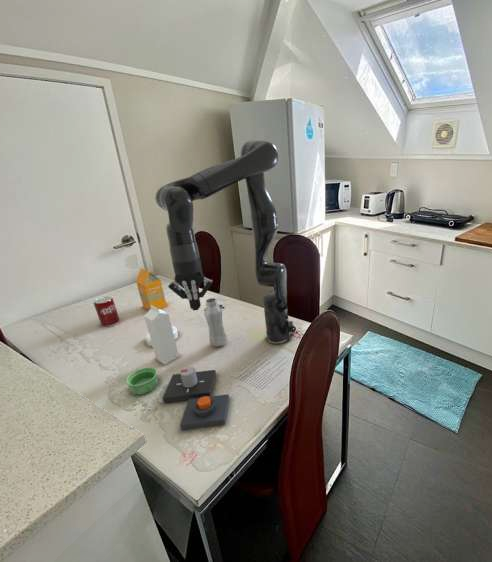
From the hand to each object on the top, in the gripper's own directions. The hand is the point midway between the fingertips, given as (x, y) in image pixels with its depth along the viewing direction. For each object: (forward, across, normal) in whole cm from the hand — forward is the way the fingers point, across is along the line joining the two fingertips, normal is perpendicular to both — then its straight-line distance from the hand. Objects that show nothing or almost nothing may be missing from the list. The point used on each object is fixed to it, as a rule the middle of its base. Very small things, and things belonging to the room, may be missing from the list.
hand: (196, 309), depth 98 cm
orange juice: (+27, -37, +59) cm, 75 cm away
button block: (+27, +2, -17) cm, 32 cm away
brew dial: (+24, -5, -5) cm, 25 cm away
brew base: (+27, -5, -5) cm, 28 cm away
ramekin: (+27, -21, -1) cm, 34 cm away
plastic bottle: (+27, 0, +20) cm, 34 cm away
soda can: (+27, -52, +46) cm, 75 cm away
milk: (+27, -18, +14) cm, 35 cm away
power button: (+23, +2, -17) cm, 29 cm away
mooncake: (+27, -24, +28) cm, 46 cm away
